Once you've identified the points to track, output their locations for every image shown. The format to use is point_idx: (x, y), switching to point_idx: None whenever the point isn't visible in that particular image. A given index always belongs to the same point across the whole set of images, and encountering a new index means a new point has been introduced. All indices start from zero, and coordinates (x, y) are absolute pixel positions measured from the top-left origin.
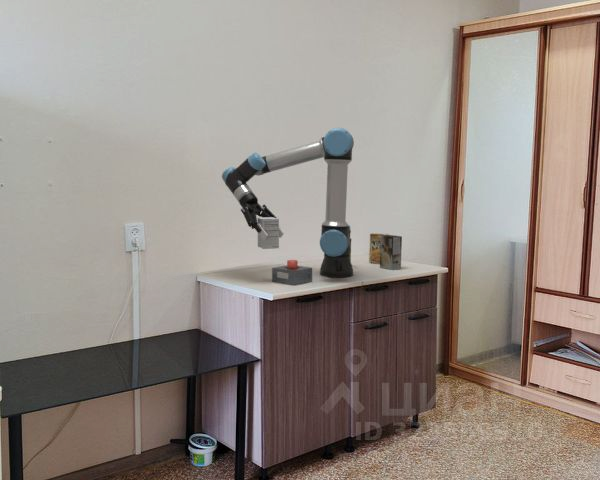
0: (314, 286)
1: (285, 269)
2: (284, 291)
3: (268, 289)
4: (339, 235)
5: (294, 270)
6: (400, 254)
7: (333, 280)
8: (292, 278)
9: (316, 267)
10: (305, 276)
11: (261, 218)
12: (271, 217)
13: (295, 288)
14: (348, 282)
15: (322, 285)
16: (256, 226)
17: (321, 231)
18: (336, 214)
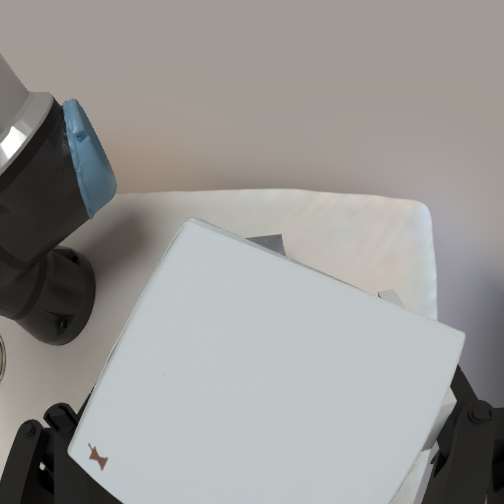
0: (246, 209)
1: None
2: (374, 210)
3: (396, 261)
4: (80, 106)
5: (270, 242)
6: None
7: (131, 242)
8: (284, 254)
9: (18, 407)
10: None
11: (411, 445)
12: (117, 447)
13: (317, 221)
14: (135, 199)
15: (216, 207)
16: (471, 388)
17: (30, 185)
18: (12, 72)
